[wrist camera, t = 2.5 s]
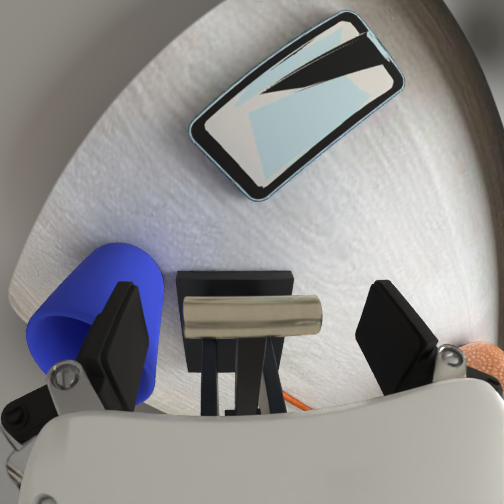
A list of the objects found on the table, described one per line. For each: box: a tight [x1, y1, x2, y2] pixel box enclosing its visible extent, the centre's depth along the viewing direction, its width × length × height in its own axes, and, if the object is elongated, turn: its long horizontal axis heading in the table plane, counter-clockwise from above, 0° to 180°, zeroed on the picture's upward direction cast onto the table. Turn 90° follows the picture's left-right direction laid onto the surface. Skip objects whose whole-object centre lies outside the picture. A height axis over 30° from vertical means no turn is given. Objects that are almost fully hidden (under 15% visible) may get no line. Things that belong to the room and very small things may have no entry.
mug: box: [26, 243, 164, 405], centre depth 17 cm, size 8×12×10 cm
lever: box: [182, 295, 322, 416], centre depth 13 cm, size 12×5×2 cm, turn 177°
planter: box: [458, 342, 504, 393], centre depth 27 cm, size 21×21×19 cm
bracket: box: [176, 271, 294, 416], centre depth 19 cm, size 11×9×13 cm
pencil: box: [282, 391, 312, 411], centre depth 31 cm, size 1×18×1 cm, turn 39°
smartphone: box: [188, 10, 405, 202], centre depth 16 cm, size 7×1×15 cm
